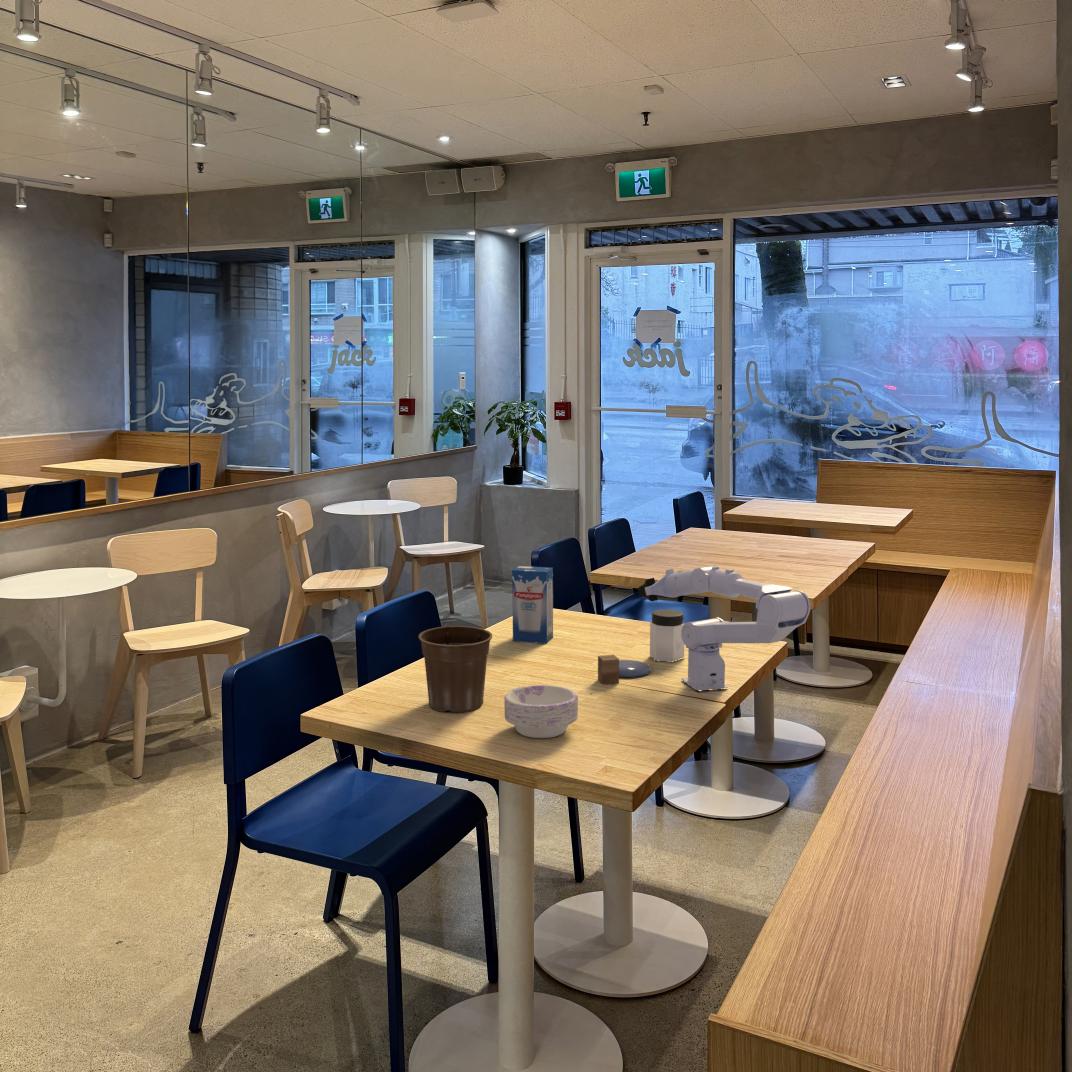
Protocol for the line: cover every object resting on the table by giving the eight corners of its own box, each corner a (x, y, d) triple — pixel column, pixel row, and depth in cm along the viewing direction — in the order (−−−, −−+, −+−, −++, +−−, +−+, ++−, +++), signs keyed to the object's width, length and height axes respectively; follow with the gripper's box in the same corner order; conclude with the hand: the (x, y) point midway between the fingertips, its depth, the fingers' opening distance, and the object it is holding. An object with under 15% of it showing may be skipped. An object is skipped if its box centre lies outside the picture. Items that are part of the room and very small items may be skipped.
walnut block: (619, 683, 237) (619, 659, 236) (603, 684, 236) (603, 660, 235) (613, 678, 241) (613, 654, 240) (597, 679, 240) (597, 655, 239)
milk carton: (512, 640, 275) (511, 570, 272) (519, 635, 281) (518, 565, 278) (547, 643, 272) (546, 571, 269) (553, 637, 278) (553, 567, 275)
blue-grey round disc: (657, 675, 243) (657, 671, 242) (610, 679, 240) (611, 675, 239) (640, 662, 254) (640, 658, 254) (595, 665, 251) (595, 662, 251)
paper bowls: (536, 713, 216) (535, 678, 215) (592, 729, 207) (592, 692, 206) (489, 733, 205) (488, 696, 203) (547, 750, 195) (546, 711, 194)
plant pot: (508, 704, 222) (507, 634, 219) (451, 722, 211) (449, 648, 209) (462, 688, 234) (460, 622, 231) (406, 704, 223) (404, 634, 220)
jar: (668, 664, 252) (669, 618, 250) (643, 658, 258) (644, 613, 256) (690, 657, 258) (691, 612, 256) (665, 651, 264) (666, 607, 262)
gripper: (703, 561, 243) (671, 567, 254) (656, 572, 235) (625, 578, 247) (710, 589, 242) (677, 594, 254) (663, 601, 235) (631, 606, 247)
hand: (651, 588), depth 251 cm, fingers open, 7 cm apart
